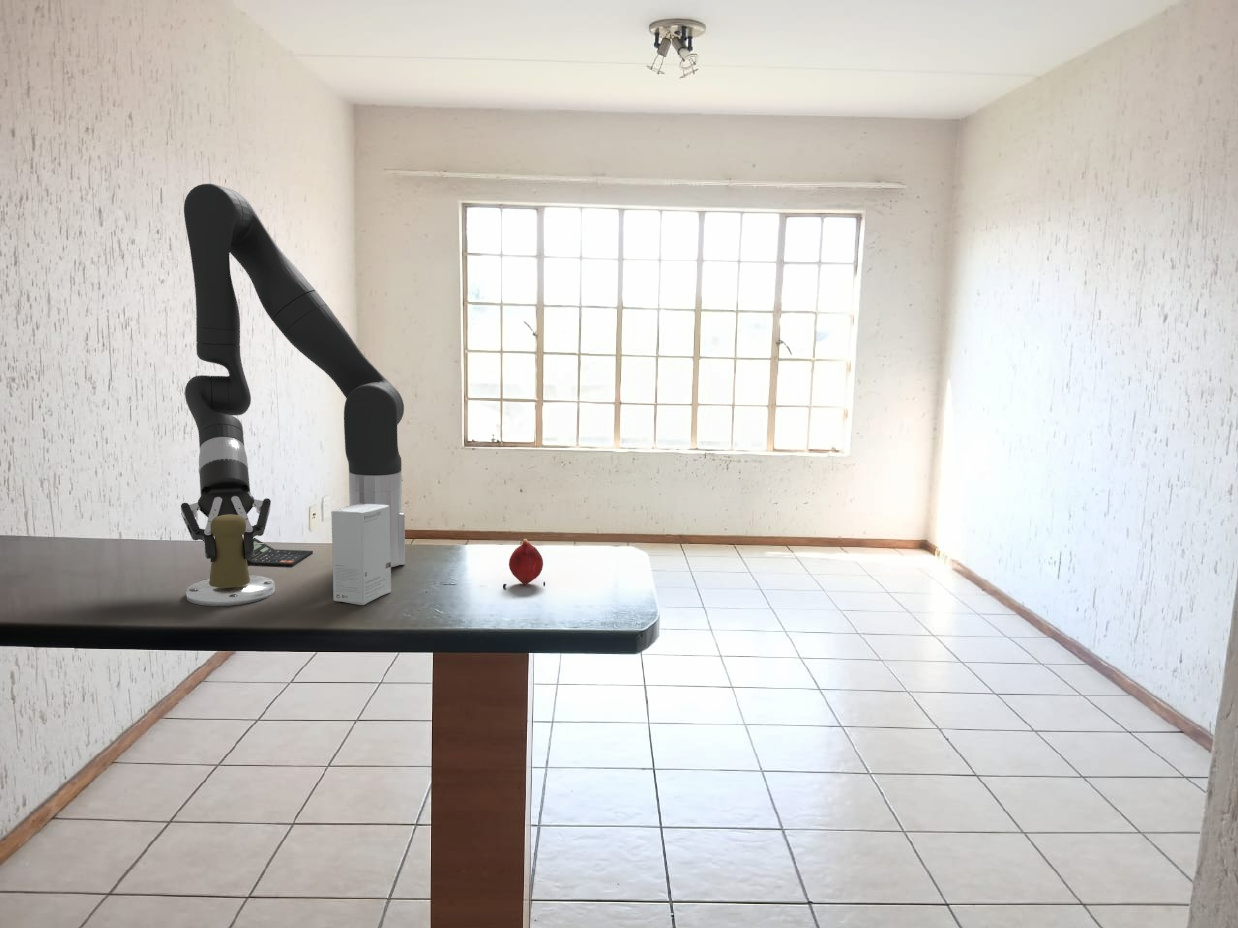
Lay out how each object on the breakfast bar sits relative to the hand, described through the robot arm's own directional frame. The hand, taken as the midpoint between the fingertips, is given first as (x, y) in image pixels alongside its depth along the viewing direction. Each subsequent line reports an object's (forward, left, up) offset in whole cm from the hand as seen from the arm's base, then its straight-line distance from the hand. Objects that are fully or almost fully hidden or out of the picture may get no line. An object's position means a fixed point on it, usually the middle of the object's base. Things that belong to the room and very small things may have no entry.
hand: (230, 557), depth 138 cm
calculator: (-8, -22, -7) cm, 24 cm away
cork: (0, -2, -5) cm, 5 cm away
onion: (-46, +10, -7) cm, 48 cm away
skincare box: (-19, +7, -7) cm, 21 cm away
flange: (0, -2, -6) cm, 7 cm away
